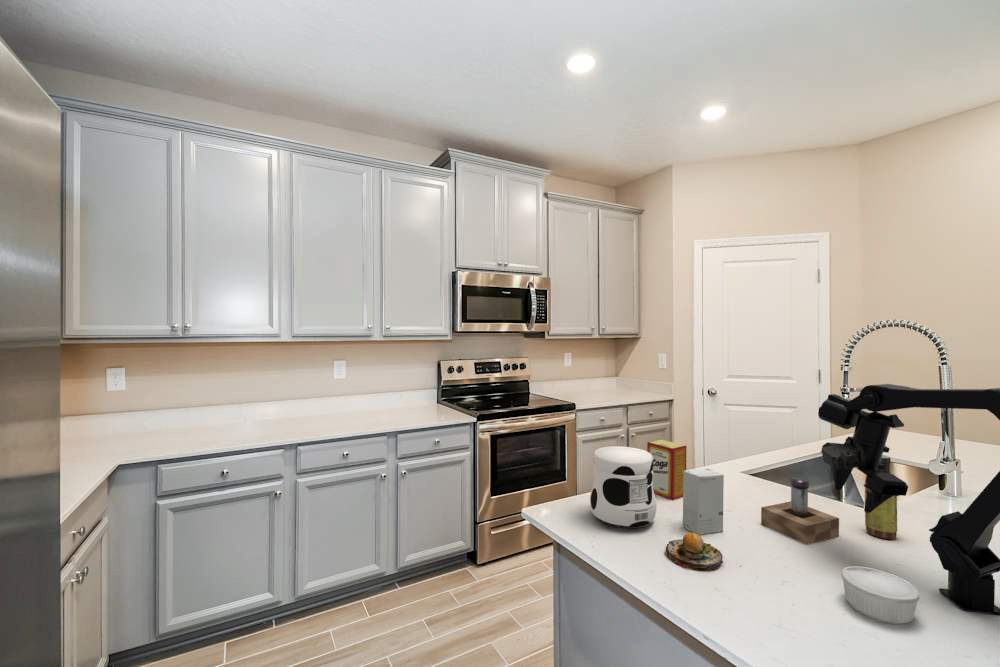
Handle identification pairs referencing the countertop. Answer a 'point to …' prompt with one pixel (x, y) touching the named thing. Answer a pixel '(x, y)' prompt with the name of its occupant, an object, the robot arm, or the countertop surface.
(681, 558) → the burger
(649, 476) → the milk container
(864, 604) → the ramekin
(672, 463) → the baking soda box
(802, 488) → the grey cylinder
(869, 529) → the sauce bottle
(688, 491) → the skincare box
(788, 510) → the wooden peg base
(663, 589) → the countertop surface
